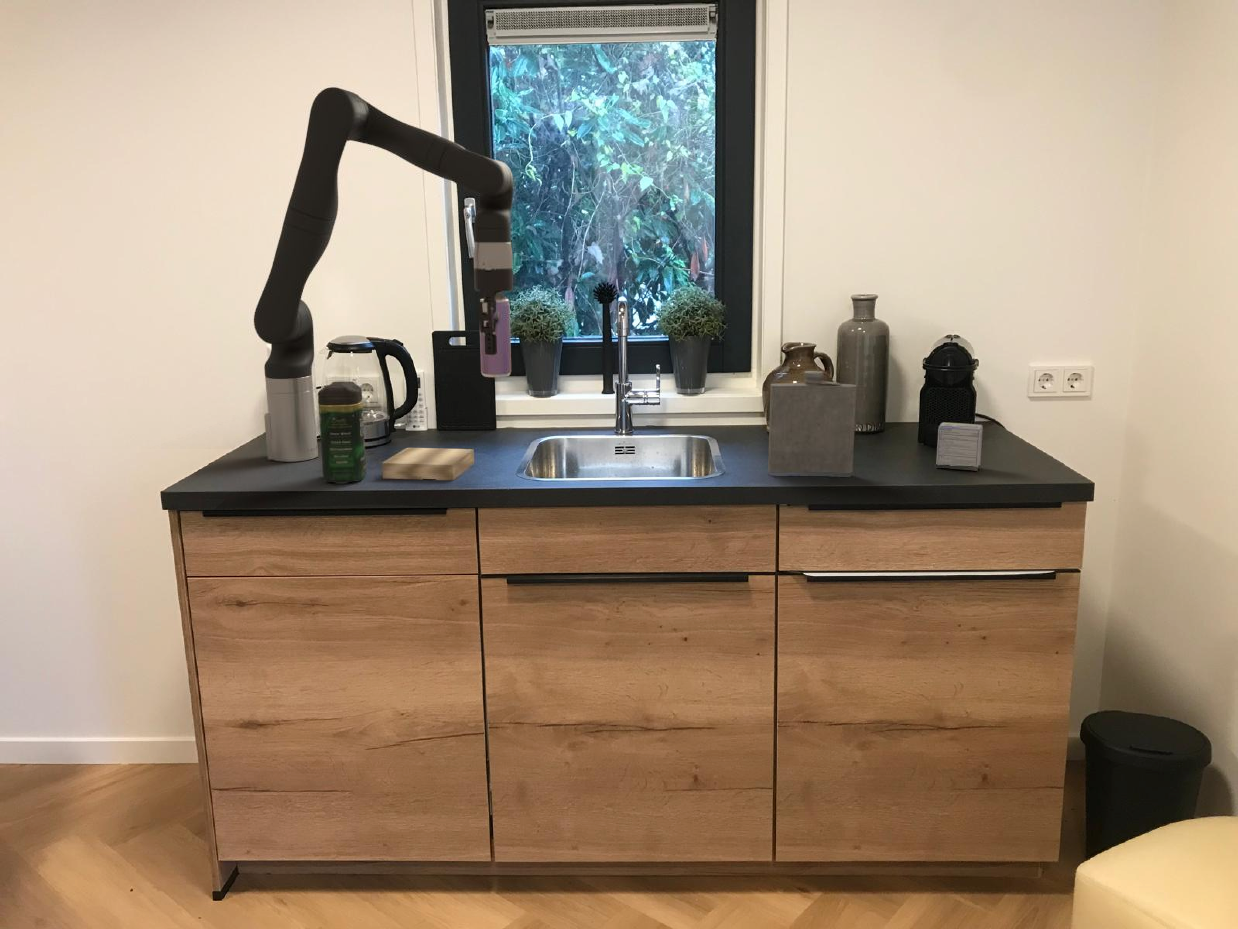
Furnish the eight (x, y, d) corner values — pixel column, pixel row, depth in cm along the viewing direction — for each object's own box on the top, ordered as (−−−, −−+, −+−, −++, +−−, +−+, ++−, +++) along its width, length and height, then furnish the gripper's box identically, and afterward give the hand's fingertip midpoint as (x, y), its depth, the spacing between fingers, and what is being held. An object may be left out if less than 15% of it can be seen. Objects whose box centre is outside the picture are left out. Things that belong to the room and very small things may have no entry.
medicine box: (980, 467, 201) (983, 424, 199) (977, 472, 197) (981, 428, 195) (938, 464, 204) (941, 421, 202) (935, 468, 200) (938, 425, 198)
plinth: (382, 478, 195) (381, 462, 194) (408, 461, 208) (407, 447, 208) (453, 480, 193) (452, 465, 192) (474, 463, 206) (473, 449, 206)
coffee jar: (363, 484, 191) (356, 385, 186) (320, 485, 190) (312, 386, 186) (370, 472, 200) (364, 378, 196) (329, 473, 199) (322, 379, 195)
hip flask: (768, 476, 195) (771, 372, 190) (767, 471, 199) (770, 369, 194) (853, 478, 193) (858, 373, 188) (850, 473, 197) (855, 370, 192)
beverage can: (505, 378, 199) (504, 300, 196) (476, 376, 200) (474, 300, 197) (515, 373, 205) (513, 298, 201) (486, 372, 206) (484, 297, 203)
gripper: (484, 264, 205) (486, 347, 209) (463, 267, 191) (466, 356, 195) (521, 264, 204) (522, 348, 208) (502, 267, 190) (504, 357, 194)
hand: (495, 352), depth 202 cm, fingers closed on beverage can, 6 cm apart
